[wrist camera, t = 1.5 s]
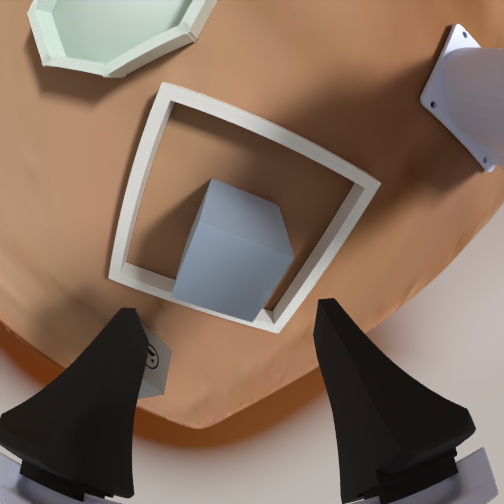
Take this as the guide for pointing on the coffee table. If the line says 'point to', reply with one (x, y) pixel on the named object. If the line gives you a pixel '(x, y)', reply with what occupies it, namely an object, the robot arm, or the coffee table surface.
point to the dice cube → (155, 366)
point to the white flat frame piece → (174, 93)
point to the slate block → (233, 253)
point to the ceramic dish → (114, 32)
